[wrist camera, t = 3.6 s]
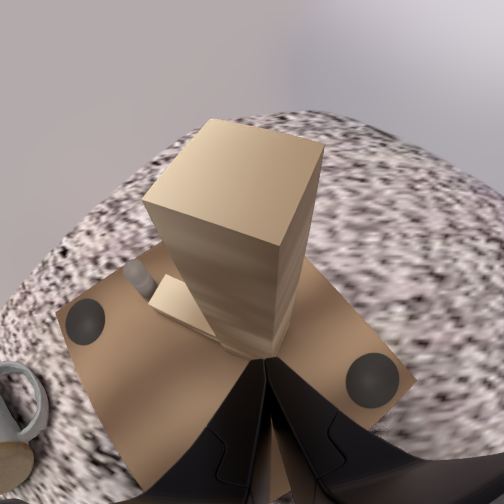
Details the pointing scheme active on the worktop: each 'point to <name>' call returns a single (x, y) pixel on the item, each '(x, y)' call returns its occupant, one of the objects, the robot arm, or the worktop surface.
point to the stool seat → (211, 364)
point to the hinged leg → (236, 233)
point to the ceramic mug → (19, 432)
